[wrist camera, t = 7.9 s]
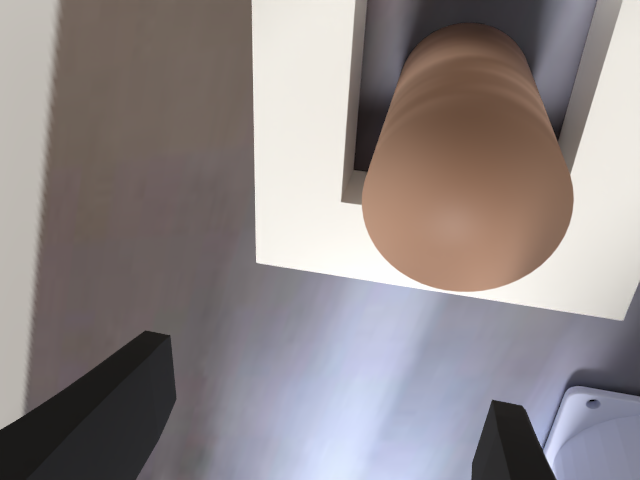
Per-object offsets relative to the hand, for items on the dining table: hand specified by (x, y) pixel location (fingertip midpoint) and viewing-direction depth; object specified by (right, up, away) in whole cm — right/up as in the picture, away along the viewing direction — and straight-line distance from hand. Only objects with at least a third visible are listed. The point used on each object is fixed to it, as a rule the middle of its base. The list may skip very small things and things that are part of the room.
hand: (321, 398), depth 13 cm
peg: (+4, +8, +5) cm, 11 cm away
